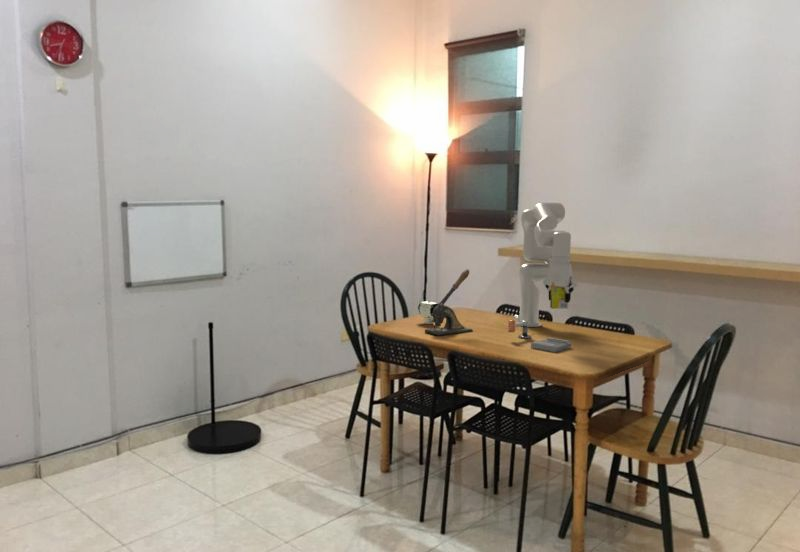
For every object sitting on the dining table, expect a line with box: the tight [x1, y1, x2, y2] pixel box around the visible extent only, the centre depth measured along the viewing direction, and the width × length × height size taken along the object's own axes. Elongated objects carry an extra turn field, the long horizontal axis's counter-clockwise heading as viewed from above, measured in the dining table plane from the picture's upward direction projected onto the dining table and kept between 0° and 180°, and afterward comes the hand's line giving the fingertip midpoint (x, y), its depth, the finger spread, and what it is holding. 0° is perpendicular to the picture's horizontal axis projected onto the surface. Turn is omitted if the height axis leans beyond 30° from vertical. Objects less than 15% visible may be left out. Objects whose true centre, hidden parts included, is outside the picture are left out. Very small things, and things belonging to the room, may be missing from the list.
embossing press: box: [424, 268, 474, 336], centre depth 314 cm, size 11×24×30 cm, turn 123°
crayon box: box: [549, 282, 569, 310], centre depth 285 cm, size 7×3×12 cm, turn 90°
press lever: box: [507, 319, 530, 333], centre depth 300 cm, size 4×15×5 cm, turn 136°
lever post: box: [517, 326, 532, 340], centre depth 305 cm, size 6×6×6 cm
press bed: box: [530, 337, 572, 354], centre depth 284 cm, size 12×13×3 cm
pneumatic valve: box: [417, 300, 439, 325], centre depth 335 cm, size 6×12×12 cm, turn 42°
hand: (559, 300), depth 285 cm, fingers closed on crayon box, 7 cm apart
